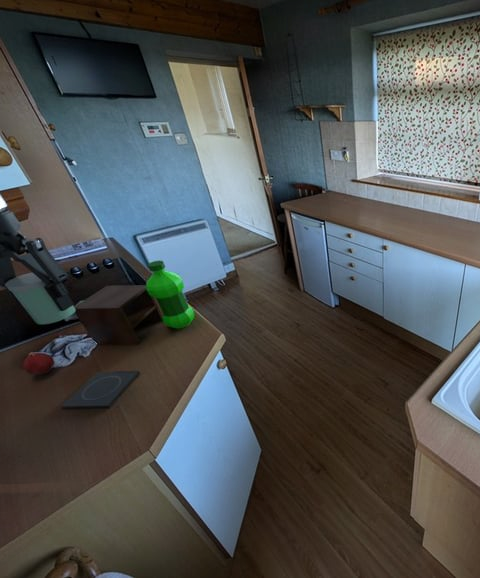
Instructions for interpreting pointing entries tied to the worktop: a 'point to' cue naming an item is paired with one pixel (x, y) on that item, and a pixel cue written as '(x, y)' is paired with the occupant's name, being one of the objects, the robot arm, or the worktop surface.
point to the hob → (101, 390)
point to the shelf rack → (117, 313)
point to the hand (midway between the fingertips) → (49, 307)
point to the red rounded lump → (38, 363)
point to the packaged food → (73, 314)
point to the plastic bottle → (169, 296)
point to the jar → (37, 299)
